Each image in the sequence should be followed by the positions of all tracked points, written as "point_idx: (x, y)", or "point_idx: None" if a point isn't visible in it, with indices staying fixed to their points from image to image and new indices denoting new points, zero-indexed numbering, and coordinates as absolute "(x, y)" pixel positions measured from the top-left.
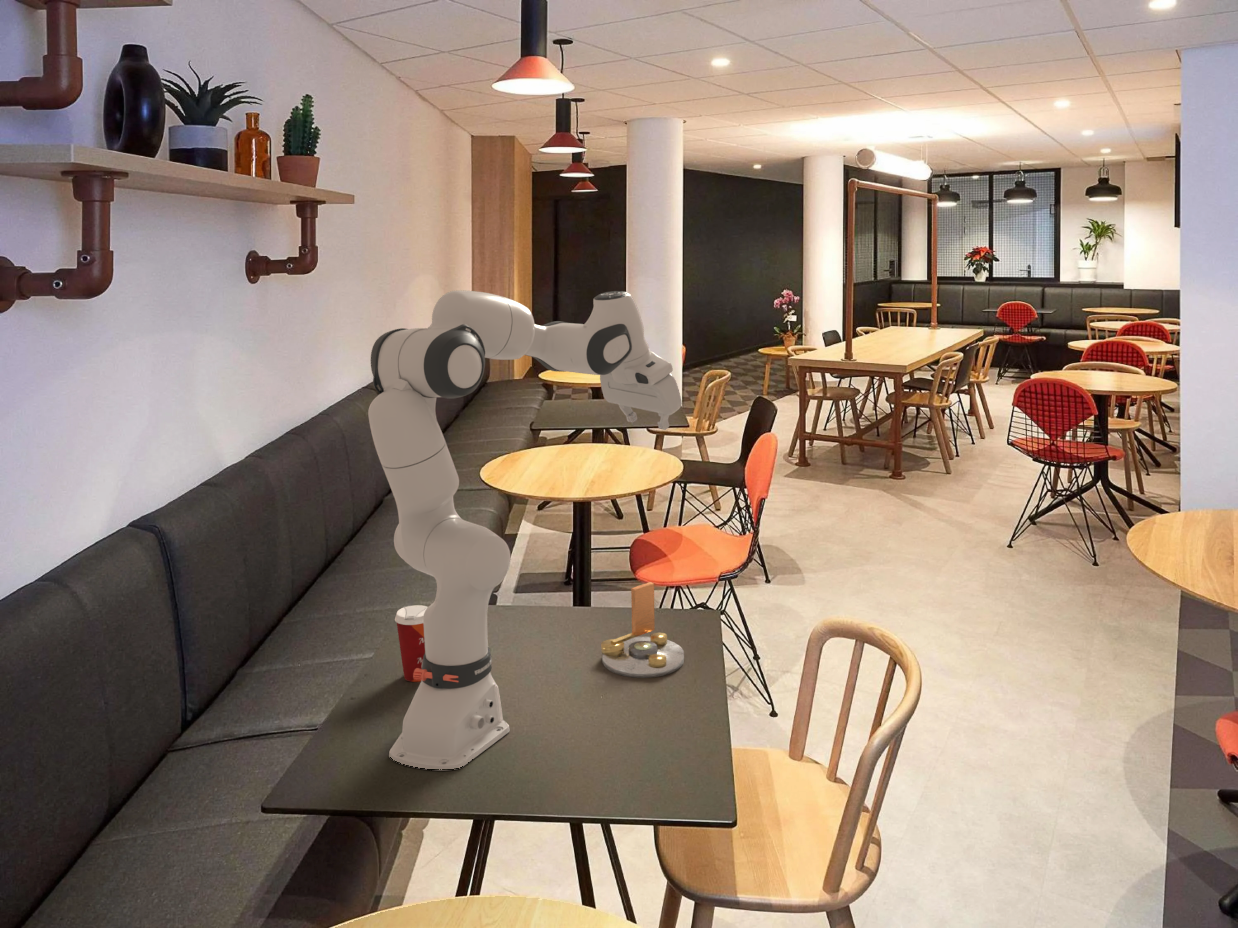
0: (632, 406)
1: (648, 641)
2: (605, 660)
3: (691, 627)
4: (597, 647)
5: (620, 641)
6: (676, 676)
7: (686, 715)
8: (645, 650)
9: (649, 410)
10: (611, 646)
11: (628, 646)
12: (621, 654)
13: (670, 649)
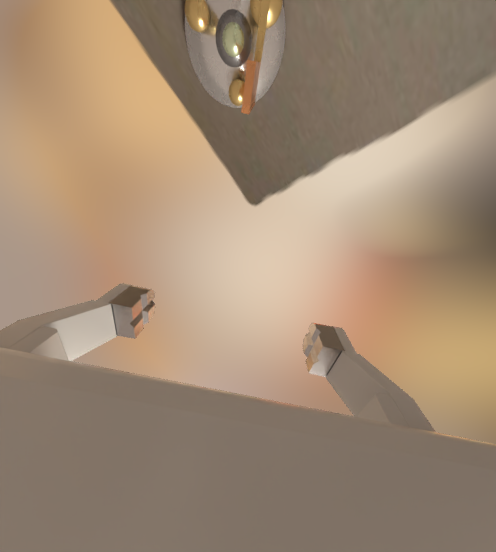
0: (262, 410)
1: (238, 66)
2: None
3: (245, 167)
4: (304, 33)
5: (259, 18)
6: (176, 20)
7: None
8: (223, 28)
9: (55, 365)
10: None
11: None
12: None
13: (217, 81)
